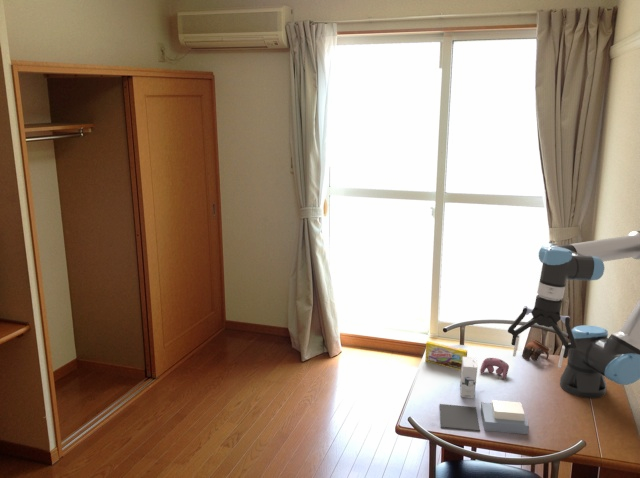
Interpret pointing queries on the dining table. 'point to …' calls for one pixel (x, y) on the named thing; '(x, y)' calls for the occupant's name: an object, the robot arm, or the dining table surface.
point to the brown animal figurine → (534, 350)
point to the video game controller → (492, 362)
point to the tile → (507, 410)
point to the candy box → (444, 355)
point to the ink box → (468, 377)
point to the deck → (501, 422)
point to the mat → (459, 417)
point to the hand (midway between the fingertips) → (536, 360)
